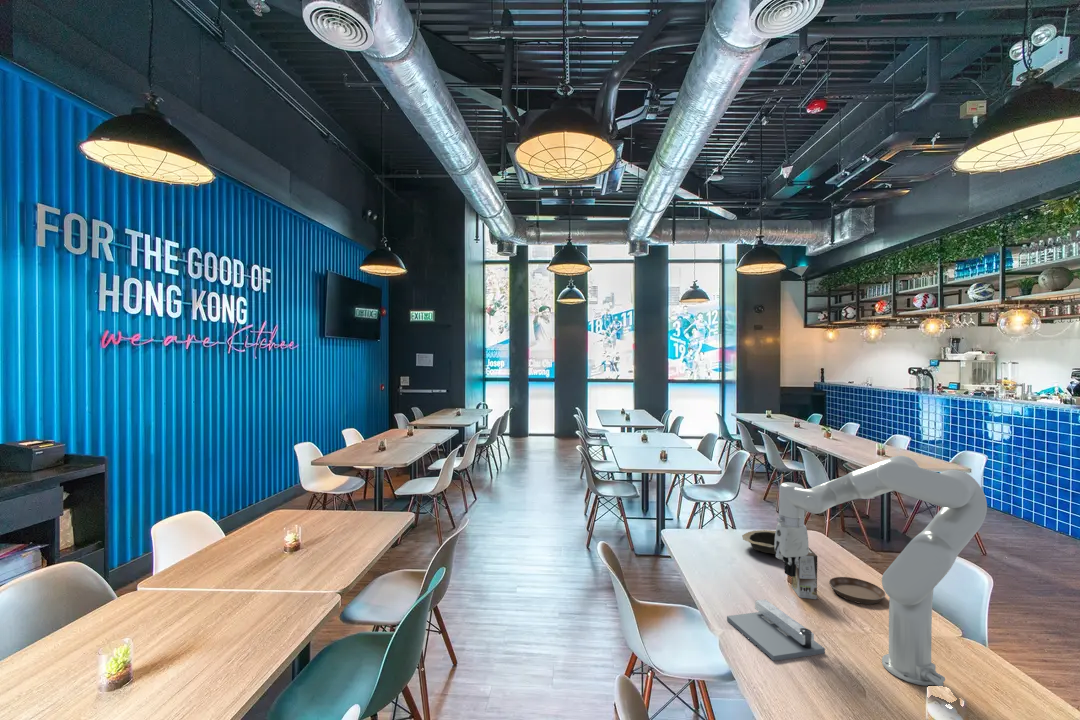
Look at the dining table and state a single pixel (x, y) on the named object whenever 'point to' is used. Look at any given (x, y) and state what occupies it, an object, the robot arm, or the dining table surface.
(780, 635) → the label board
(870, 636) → the dining table surface
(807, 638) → the swing bar
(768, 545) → the stone bowl
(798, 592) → the coffee box
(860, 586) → the plant saucer
